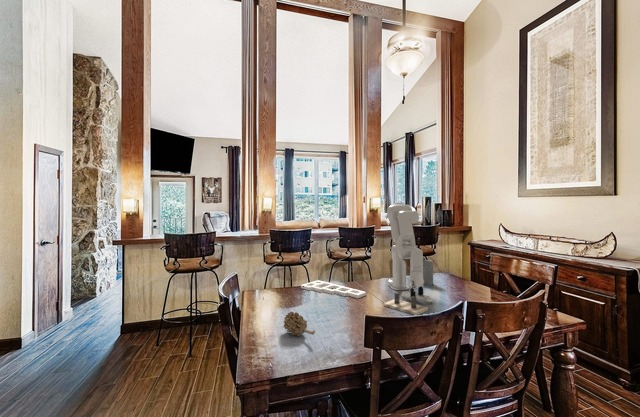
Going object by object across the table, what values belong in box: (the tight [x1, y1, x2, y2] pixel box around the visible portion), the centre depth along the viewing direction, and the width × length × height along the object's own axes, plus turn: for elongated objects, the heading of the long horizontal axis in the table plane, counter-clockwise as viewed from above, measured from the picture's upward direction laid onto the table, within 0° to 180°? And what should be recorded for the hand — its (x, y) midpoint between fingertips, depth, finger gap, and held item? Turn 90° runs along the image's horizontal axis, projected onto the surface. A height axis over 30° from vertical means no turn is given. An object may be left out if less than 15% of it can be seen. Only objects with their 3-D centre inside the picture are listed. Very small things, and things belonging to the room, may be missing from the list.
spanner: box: [401, 290, 433, 305], centre depth 193 cm, size 20×4×4 cm, turn 44°
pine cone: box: [283, 311, 316, 337], centre depth 143 cm, size 22×10×10 cm, turn 47°
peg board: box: [383, 292, 429, 316], centre depth 179 cm, size 22×12×8 cm, turn 44°
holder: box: [300, 280, 367, 299], centre depth 213 cm, size 45×18×3 cm, turn 46°
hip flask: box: [423, 256, 434, 286], centre depth 233 cm, size 16×4×20 cm, turn 43°
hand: (416, 295), depth 192 cm, fingers open, 9 cm apart
